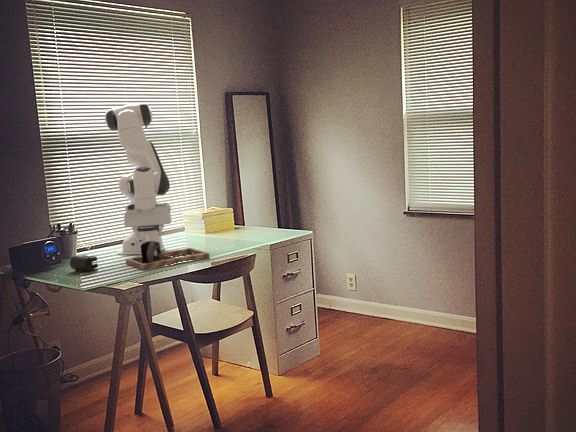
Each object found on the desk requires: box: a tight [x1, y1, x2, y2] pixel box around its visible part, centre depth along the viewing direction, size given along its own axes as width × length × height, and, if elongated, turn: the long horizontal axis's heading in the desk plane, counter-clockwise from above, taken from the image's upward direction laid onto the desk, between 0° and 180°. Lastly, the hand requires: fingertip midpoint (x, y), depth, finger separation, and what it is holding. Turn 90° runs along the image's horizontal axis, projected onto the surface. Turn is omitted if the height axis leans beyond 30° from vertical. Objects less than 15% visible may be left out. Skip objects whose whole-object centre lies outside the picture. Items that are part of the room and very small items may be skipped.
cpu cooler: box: [140, 241, 162, 264], centre depth 273 cm, size 10×6×10 cm, turn 170°
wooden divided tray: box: [125, 247, 211, 271], centre depth 277 cm, size 32×20×2 cm, turn 125°
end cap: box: [69, 254, 99, 273], centre depth 266 cm, size 10×7×7 cm
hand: (149, 235), depth 271 cm, fingers open, 8 cm apart
